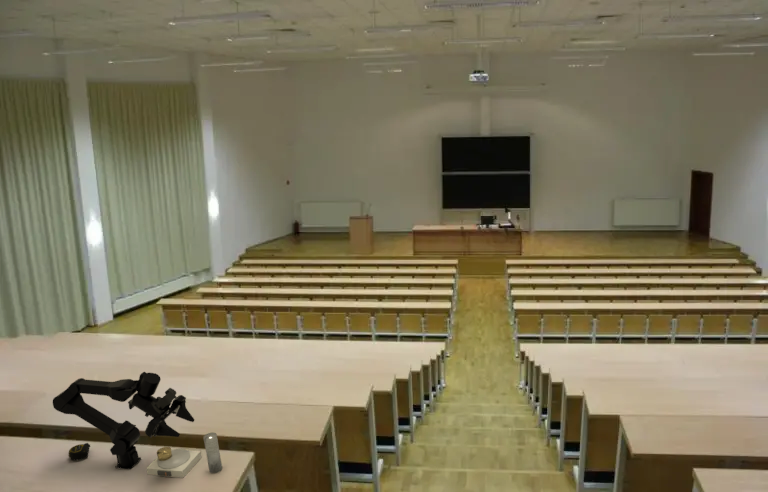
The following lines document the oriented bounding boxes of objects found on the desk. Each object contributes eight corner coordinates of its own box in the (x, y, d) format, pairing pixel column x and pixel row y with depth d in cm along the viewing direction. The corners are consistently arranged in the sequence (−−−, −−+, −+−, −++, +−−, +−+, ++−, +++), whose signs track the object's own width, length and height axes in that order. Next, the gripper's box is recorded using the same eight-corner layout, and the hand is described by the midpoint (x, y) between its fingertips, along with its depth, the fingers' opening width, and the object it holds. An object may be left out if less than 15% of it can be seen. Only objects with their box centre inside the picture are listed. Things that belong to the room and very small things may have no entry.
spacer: (206, 472, 205) (201, 439, 202) (213, 465, 209) (207, 432, 206) (218, 473, 204) (212, 440, 200) (224, 465, 208) (219, 432, 205)
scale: (146, 475, 206) (145, 467, 205) (167, 454, 218) (166, 446, 217) (182, 478, 202) (180, 470, 202) (201, 457, 214) (200, 449, 213)
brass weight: (155, 460, 209) (153, 454, 208) (163, 452, 213) (161, 446, 213) (167, 461, 207) (165, 455, 207) (174, 453, 212) (173, 447, 211)
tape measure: (88, 459, 219) (86, 450, 218) (68, 464, 217) (66, 455, 216) (91, 450, 225) (89, 441, 224) (71, 454, 223) (69, 445, 222)
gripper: (139, 401, 194) (179, 426, 193) (172, 374, 211) (208, 397, 210) (129, 425, 198) (168, 450, 197) (162, 397, 215) (198, 420, 214)
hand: (186, 428), depth 204 cm, fingers open, 9 cm apart
